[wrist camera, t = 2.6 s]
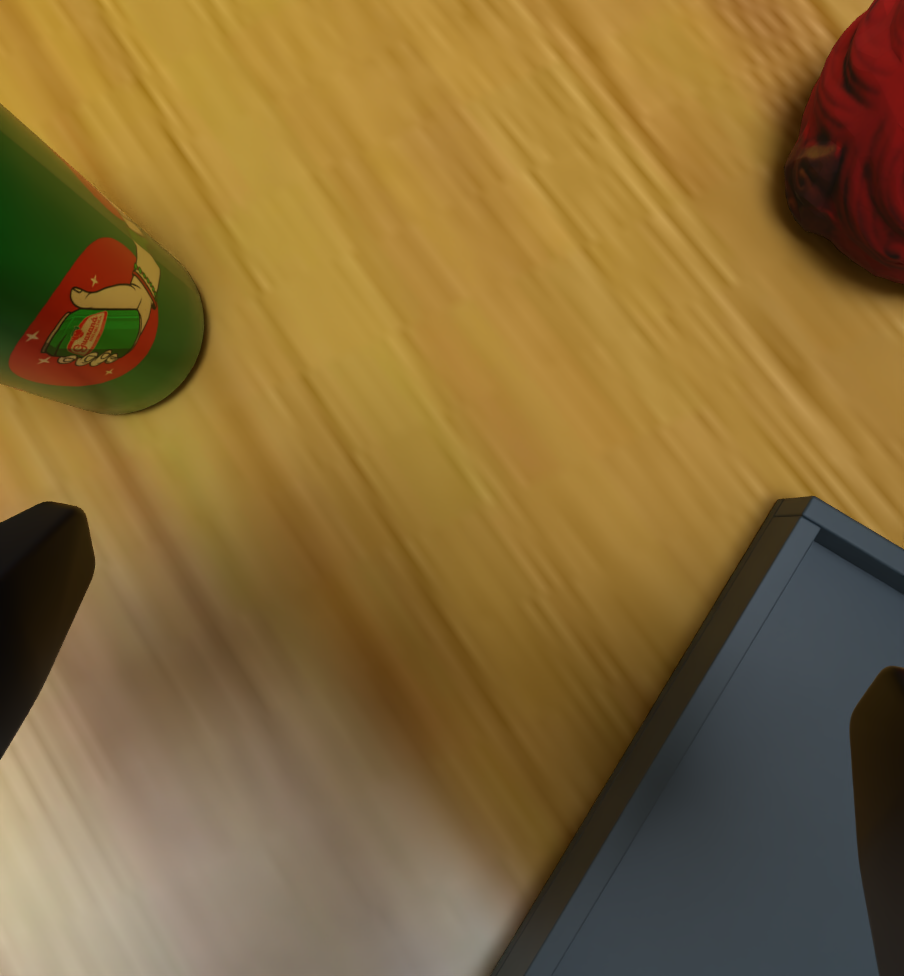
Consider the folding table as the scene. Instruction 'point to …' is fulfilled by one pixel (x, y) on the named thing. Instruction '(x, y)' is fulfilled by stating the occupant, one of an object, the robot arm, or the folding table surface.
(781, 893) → the tray
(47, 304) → the soda can
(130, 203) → the folding table surface
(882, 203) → the red clay folk toy
